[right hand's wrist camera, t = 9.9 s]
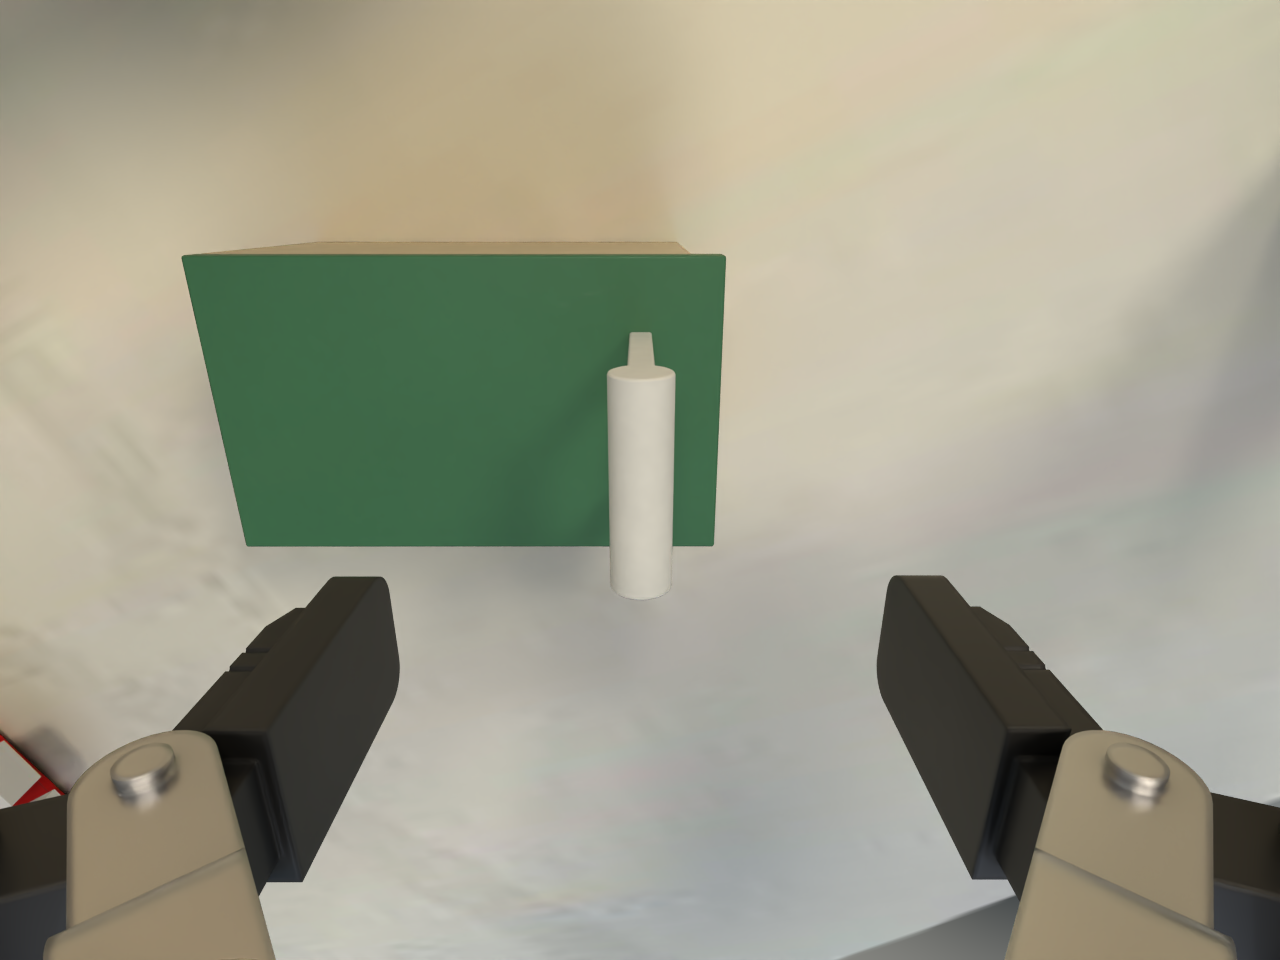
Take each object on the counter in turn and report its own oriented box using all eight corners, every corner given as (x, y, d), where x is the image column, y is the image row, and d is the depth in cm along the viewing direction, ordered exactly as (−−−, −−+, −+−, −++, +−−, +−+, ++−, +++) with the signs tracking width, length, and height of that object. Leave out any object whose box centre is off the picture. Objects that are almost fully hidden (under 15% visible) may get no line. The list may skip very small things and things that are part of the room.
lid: (723, 253, 22) (767, 276, 15) (711, 536, 26) (742, 673, 18) (196, 254, 22) (-37, 276, 14) (258, 536, 26) (97, 674, 18)
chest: (678, 242, 30) (692, 253, 22) (674, 457, 34) (685, 535, 26) (316, 242, 30) (197, 253, 22) (350, 457, 34) (259, 536, 26)
